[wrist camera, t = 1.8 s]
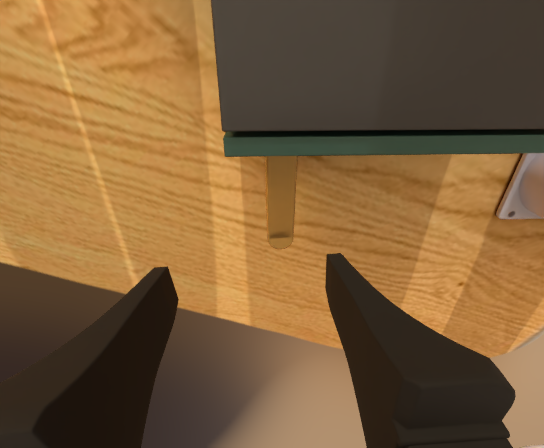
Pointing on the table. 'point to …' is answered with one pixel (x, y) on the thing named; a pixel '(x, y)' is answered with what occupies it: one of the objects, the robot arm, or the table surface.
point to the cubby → (379, 64)
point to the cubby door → (291, 144)
